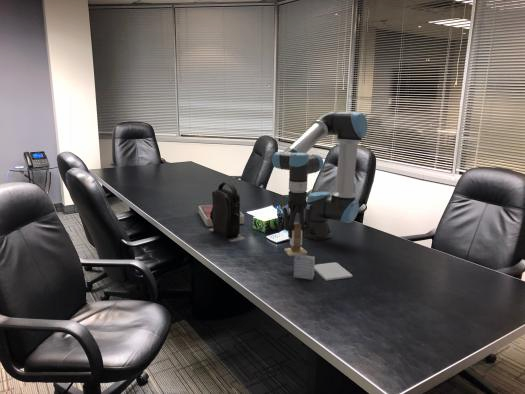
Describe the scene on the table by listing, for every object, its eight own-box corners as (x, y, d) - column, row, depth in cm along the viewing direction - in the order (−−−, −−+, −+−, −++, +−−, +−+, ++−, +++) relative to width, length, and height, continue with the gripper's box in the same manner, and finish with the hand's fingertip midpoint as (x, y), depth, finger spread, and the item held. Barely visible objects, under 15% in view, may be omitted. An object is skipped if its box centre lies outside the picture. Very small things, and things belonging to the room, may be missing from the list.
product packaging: (232, 211, 263) (232, 203, 262) (244, 224, 237) (244, 216, 236) (198, 213, 257) (198, 205, 256) (206, 227, 231) (206, 219, 229)
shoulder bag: (246, 238, 213) (246, 185, 206) (231, 241, 208) (231, 187, 201) (223, 227, 231) (222, 177, 224) (208, 230, 225) (207, 179, 218)
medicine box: (314, 275, 170) (315, 256, 168) (312, 280, 166) (313, 260, 164) (295, 273, 173) (296, 253, 170) (293, 277, 168) (294, 257, 166)
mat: (311, 267, 179) (311, 265, 179) (336, 263, 183) (336, 262, 182) (325, 280, 166) (326, 278, 166) (352, 277, 170) (352, 275, 169)
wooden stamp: (284, 250, 178) (285, 222, 175) (301, 249, 180) (302, 220, 177) (289, 256, 172) (290, 226, 169) (307, 254, 175) (308, 224, 172)
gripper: (282, 194, 164) (281, 249, 170) (319, 191, 169) (316, 245, 174) (276, 189, 171) (275, 243, 176) (311, 187, 176) (309, 239, 181)
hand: (295, 244), depth 175 cm, fingers closed on wooden stamp, 3 cm apart
